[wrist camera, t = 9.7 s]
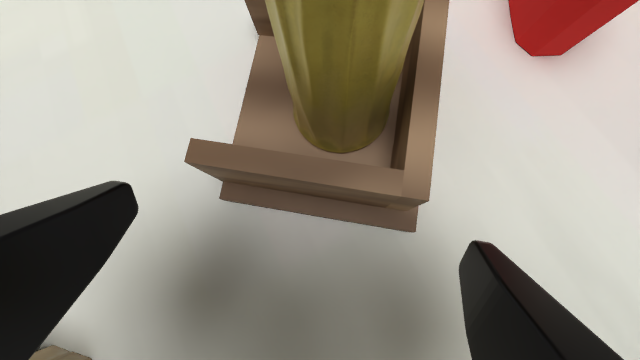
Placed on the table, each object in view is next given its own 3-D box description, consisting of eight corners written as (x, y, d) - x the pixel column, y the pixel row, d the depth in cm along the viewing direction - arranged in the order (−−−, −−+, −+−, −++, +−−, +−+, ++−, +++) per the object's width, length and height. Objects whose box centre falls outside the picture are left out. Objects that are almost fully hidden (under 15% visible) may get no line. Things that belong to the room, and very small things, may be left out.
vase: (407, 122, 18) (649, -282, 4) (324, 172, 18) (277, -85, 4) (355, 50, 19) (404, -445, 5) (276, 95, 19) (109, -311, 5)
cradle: (412, 232, 17) (443, 229, 12) (222, 200, 19) (177, 184, 13) (433, 32, 20) (466, -40, 15) (267, 15, 21) (244, -57, 16)
